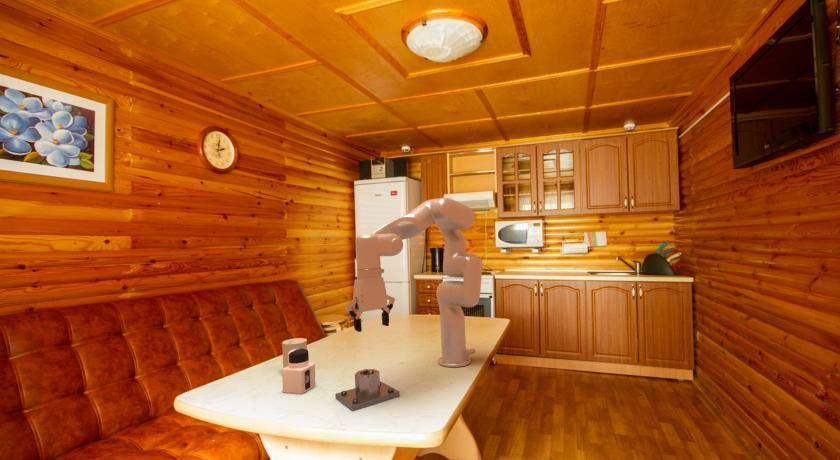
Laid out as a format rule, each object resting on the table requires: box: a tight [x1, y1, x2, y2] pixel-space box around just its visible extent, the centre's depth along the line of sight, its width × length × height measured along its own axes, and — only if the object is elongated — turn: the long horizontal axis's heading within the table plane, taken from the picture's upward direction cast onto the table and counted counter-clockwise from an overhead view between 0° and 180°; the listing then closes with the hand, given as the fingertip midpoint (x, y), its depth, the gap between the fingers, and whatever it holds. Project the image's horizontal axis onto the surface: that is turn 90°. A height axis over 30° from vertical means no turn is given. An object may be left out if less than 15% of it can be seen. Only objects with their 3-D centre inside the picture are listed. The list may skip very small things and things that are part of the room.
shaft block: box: [334, 380, 401, 412], centre depth 120 cm, size 16×12×7 cm
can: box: [281, 337, 308, 369], centre depth 149 cm, size 9×9×12 cm
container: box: [281, 348, 317, 395], centre depth 130 cm, size 8×8×13 cm
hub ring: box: [354, 368, 381, 397], centre depth 120 cm, size 7×7×6 cm
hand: (372, 328), depth 122 cm, fingers open, 9 cm apart
